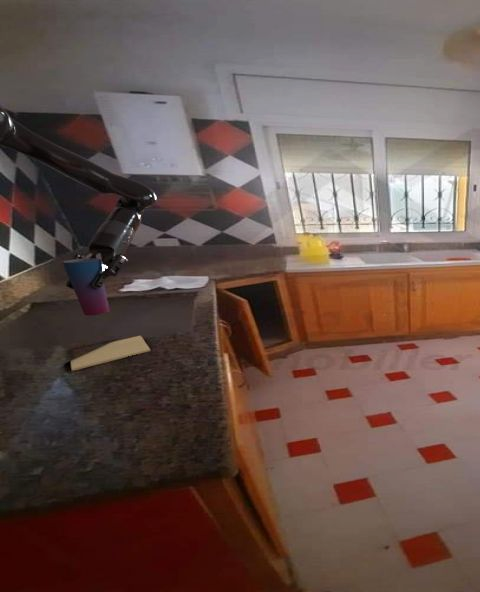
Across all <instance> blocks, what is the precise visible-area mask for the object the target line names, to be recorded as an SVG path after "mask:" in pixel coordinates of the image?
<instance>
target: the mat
mask: <svg viewBox="0 0 480 592" xmlns="http://www.w3.org/2000/svg"><path fill="white" fill-rule="evenodd" d="M149 352H151V348H150V347H149V346H148V344H147V342H145V340H144V338H143V337H142V335H137V336H133V337H128V338H124V339H120V340H115V341H110V342H108V343H106V344H104V345H102V346H99V347H97V348H95V349H93V350H91V351H88V352H87V353H85V354H82V355H80V356H78V357H75V358H73V359H71V360H70V368H71V372H75V371H78V370H81V369H85V368H90V367H93V366H97V365H102V364H105V363H109V362H113V361H117V360H120V359H124V358H128V356H129V357H132V355H133V356H136V354H137V355H140V354H144V353H149Z"/></svg>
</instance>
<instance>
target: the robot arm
mask: <svg viewBox="0 0 480 592" xmlns="http://www.w3.org/2000/svg"><path fill="white" fill-rule="evenodd" d="M0 146H1V147H4V148H7V149H10V150H13V151H15V152H18V153H20V154H22V155H24V156H26V157H28V158H30V159H33V160H35V161H37V162H39V163H41V164H43V165H45V166H47V167H49V168H50V169H52V170H54V171H56V172H58V173H60V174H62V175H63V176H65V177H67V178H68V179H69V178H70V179H71V180H73V181H75V182H77V183H79V184H81V185H83V186H85V187H88V188H90V189H91V190H93V191H95V192H98V193H101V194H103V195H111V194H116V195H118V196H119V197H118V198H117V200H116V203H115V204H114V207H113V210H112V211H111V212H110V213H109V215H108V217H107V218H106V219H105V221H104V222H103V223H102V224H101V225H100V227H98V229H97V231H96V232H95V233H94V235H93V236H92V238H91V239H90V241H89V243H88V245H87V246H88V249H89V250H88V252H87V253H85V254H84V255H79V254H78V253H77V254H74V255H73V256H72V258H71V260H75V259H87V258H88V259H89V258H96V259H97V258H98V259H99V267H100V268H99V271H98V274H97V275H96V276H95V278H94V279H93V280H92V282H91V284H90V287H92V288H94V289H100V288H101V287H102V285H103V284H104V285H105V283H106V281H107V279H110V278H111V277H117V276H118V275H119V273H120V272H121V270H122V269H123V268H124V267H125V266H126V264H127V263H128V261H129V259H128V258H126V257H125V256H124V255H125V254H126V251H127V250H128V248H129V247H130V245H131V243H132V241H133V239H134V237H135V234H136V232H137V231H138V229H139V227H140V225H141V224H142V216H143V214H144V213H145V212H146V211H147V210H148V209H150V208H152V207H153V206H154V205H155V204H156V203H157V201H158V197H157V195H156V193H155V191H153V189H151V188H150V187H148V186H147V185H145V184H144V183H141V182H139V181H137V180H134V179H130V178H128V177H126V176H122V175H118V174H115V173H113V172H112V171H110V170H108V169H106V168H104V167H103V166H101V165H98V164H97V163H95V162H93V161H91V160H89V159H87V158H86V157H83V156H81V155H79V154H77V153H75V152H72V151H71V150H68V149H66V148H64V147H62V146H60V145H57V144H56V143H54V142H51V141H49V140H48V139H45V138H44V137H42V136H40V135H38V134H37V133H35V132H34V131H31V130H30V129H29V128H27V127H26V126H24V125H22V124H21V123H19V122H18V121H16V120H15V119H13V118H12V117H11V116H10V115H9V113H8V112H7V111H6V110H5V109H3V107H1V106H0ZM113 269H114V270H113ZM65 286H66V288H69V289H71V290H74V289H73V286H72V284H71V282H70V279H69V278H68V280H67V282H66V284H65Z"/></svg>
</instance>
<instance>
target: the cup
mask: <svg viewBox="0 0 480 592" xmlns="http://www.w3.org/2000/svg"><path fill="white" fill-rule="evenodd" d="M62 265H63V267H64V270H65V273H66V275H67V277H68V280H69V279H70V282H71V284H72V286H73V289H72V290H73V291H74V293H75V295H76V296H75V297H76V298H77V300H78V303H79V305H80V307H81V310H82V312H83V314H84V316H86V317H87V316H89V317H91V316H99V315H103V314H106V313H108V312H110V306H109V301H108V296H107V292H106V286H105V283H104V284H103V285H102V287H101V288H100V289H94V288H92V287H90V284H91V282H92V280H93V279H94V278H95V276H96V275H97V274H98V271H99V268H100V267H99V259H98V258H97V259H96V258H89V259H88V258H87V259H75V260H72V259H69V260H64V261H62Z"/></svg>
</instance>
